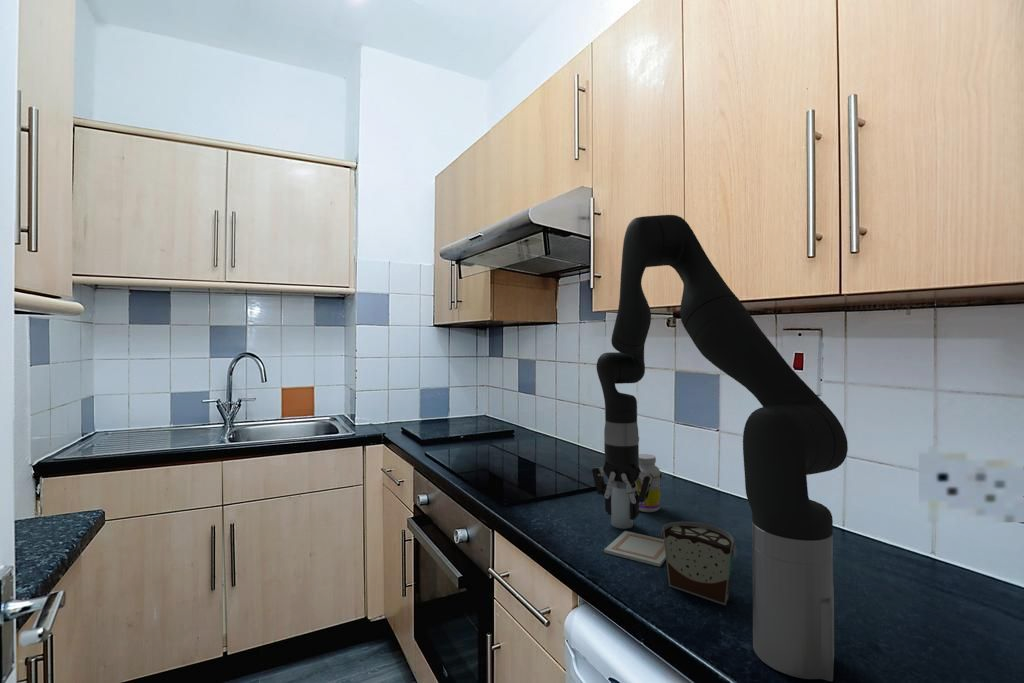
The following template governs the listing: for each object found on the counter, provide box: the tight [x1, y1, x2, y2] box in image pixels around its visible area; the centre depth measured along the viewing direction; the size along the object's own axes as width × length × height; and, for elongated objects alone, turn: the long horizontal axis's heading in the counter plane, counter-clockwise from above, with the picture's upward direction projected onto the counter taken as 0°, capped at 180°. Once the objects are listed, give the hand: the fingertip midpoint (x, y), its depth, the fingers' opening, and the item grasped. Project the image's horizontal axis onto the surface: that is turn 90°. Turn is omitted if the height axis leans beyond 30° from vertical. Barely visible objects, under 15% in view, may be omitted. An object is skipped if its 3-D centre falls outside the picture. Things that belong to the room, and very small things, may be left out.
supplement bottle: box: [636, 453, 661, 513], centre depth 121 cm, size 7×7×13 cm
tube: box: [610, 481, 634, 530], centre depth 111 cm, size 5×5×10 cm
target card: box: [603, 530, 666, 568], centre depth 98 cm, size 11×11×1 cm
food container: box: [659, 521, 738, 606], centre depth 83 cm, size 12×6×10 cm, turn 48°
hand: (622, 516), depth 111 cm, fingers closed on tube, 4 cm apart
